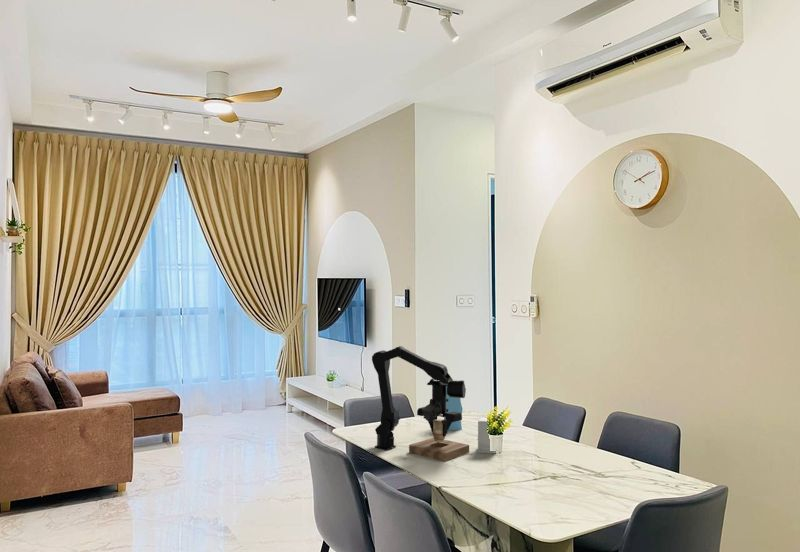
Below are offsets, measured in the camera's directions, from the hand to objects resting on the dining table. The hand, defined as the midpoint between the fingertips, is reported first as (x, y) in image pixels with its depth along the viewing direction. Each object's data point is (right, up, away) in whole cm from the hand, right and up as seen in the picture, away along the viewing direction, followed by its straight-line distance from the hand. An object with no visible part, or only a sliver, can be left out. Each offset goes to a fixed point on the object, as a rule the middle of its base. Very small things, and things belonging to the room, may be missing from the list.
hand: (439, 435), depth 242 cm
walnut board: (0, -7, 0) cm, 7 cm away
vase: (+9, -7, +41) cm, 43 cm away
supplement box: (+20, -7, +3) cm, 21 cm away
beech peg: (0, -2, 0) cm, 2 cm away
